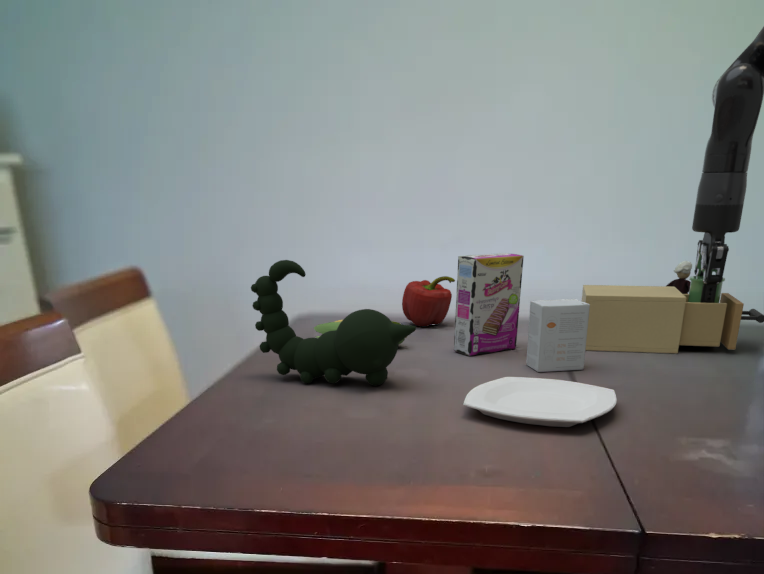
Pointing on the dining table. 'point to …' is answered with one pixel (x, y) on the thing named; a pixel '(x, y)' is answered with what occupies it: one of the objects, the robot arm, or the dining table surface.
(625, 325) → the cabinet
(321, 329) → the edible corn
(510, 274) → the candy bar box
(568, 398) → the plate
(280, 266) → the toy figurine
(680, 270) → the grandmother figurine
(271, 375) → the dining table surface
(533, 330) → the small box
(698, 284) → the pot
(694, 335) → the drawer
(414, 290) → the vegetable
